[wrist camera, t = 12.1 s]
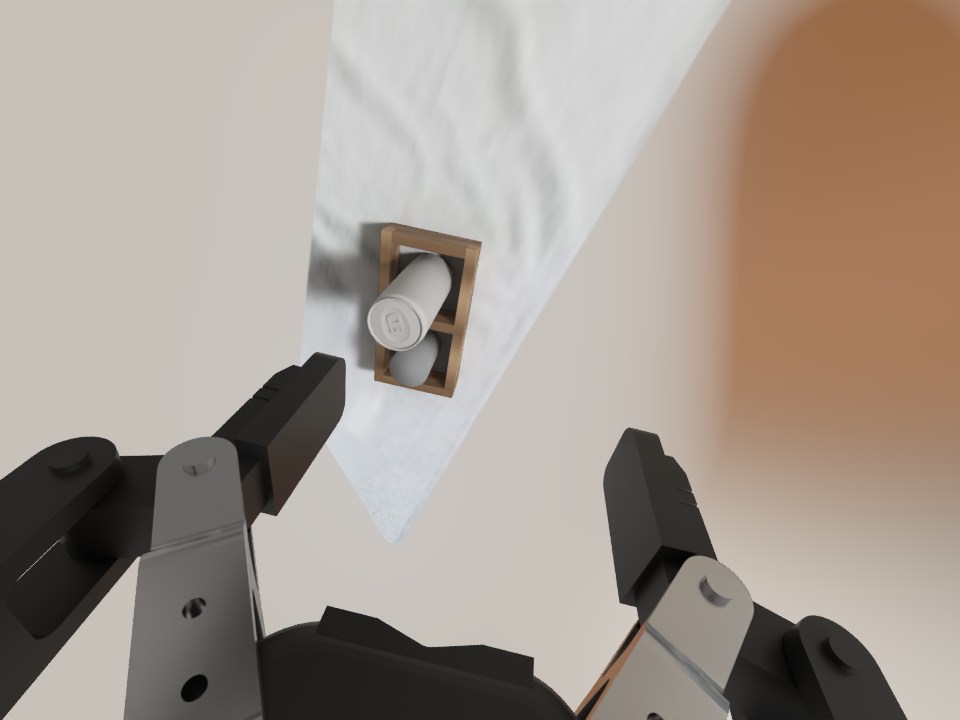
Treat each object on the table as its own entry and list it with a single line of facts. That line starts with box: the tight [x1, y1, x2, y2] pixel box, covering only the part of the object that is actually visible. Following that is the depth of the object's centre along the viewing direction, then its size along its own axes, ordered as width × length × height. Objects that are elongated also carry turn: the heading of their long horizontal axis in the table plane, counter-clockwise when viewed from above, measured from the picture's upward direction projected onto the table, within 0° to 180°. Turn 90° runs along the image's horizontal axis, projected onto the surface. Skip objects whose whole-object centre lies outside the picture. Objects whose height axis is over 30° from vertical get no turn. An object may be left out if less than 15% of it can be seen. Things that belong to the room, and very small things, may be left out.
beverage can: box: [367, 254, 454, 351], centre depth 37 cm, size 5×5×12 cm
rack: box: [374, 223, 482, 398], centre depth 43 cm, size 17×9×3 cm, turn 170°
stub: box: [389, 329, 441, 387], centre depth 44 cm, size 4×4×6 cm
